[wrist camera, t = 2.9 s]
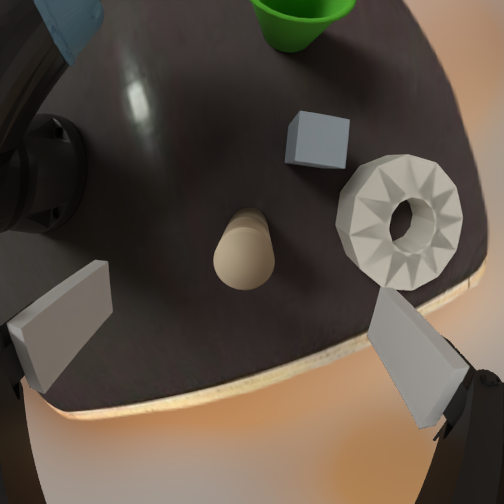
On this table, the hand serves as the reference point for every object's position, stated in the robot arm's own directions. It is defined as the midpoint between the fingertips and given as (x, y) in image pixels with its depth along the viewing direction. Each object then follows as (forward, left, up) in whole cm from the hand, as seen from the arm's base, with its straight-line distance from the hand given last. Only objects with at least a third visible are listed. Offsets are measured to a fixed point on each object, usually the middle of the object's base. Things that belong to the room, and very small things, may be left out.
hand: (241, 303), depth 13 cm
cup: (+2, +22, -18) cm, 29 cm away
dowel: (0, 0, -18) cm, 18 cm away
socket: (+16, +3, -18) cm, 24 cm away
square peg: (+5, +9, -18) cm, 21 cm away
